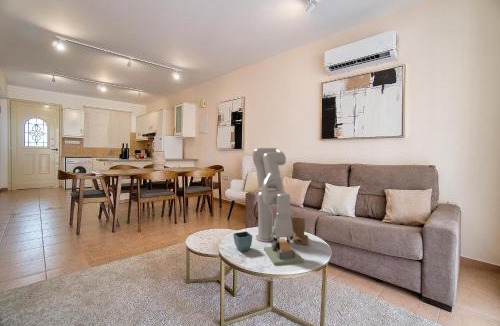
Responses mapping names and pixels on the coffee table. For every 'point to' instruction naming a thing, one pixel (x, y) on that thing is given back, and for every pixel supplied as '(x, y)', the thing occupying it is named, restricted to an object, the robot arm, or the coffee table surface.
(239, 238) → the flower pot
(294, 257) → the green bracket base plate
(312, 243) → the coffee table surface
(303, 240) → the brown boot
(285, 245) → the tall tan rectangular prism
